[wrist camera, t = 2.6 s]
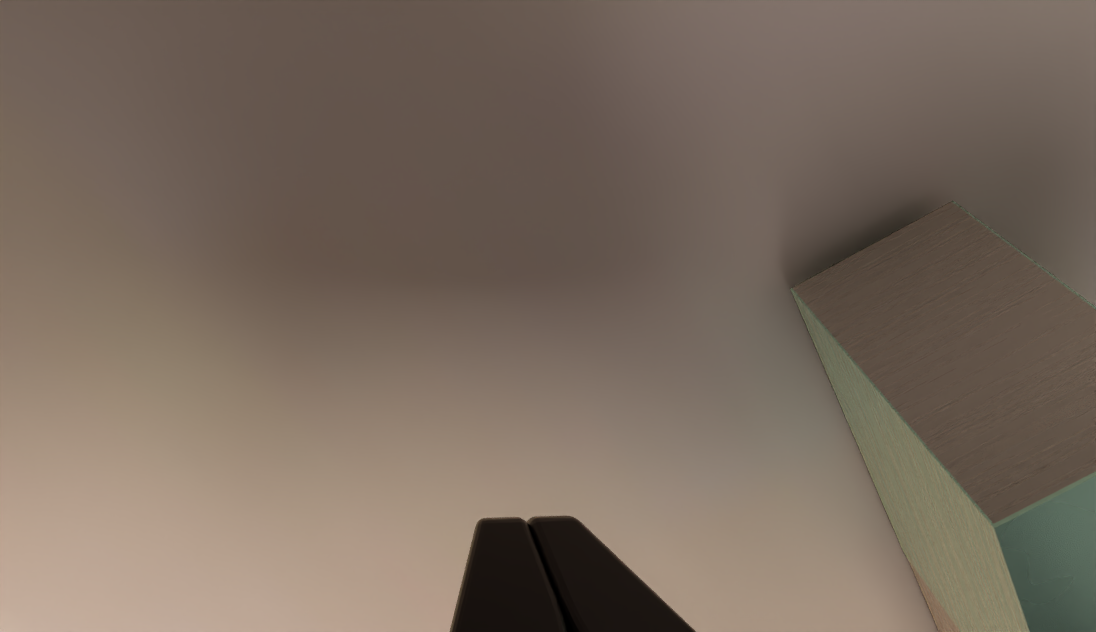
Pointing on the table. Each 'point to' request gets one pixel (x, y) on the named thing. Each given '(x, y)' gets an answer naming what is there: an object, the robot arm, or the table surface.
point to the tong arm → (970, 417)
